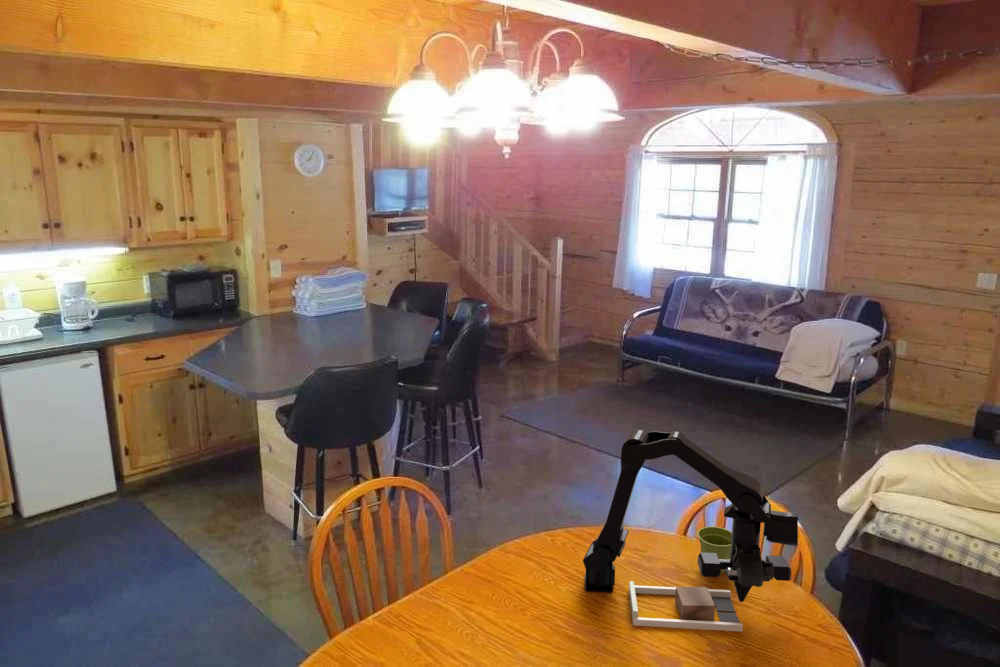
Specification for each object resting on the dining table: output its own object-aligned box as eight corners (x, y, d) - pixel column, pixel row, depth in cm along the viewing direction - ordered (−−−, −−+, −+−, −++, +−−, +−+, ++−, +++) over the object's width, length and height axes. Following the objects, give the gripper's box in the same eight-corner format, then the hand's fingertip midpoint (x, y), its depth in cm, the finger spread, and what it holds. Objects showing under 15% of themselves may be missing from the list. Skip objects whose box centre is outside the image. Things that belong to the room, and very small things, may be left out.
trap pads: (722, 627, 149) (722, 626, 149) (712, 597, 160) (712, 596, 160) (741, 628, 149) (741, 627, 149) (730, 598, 159) (730, 597, 159)
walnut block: (681, 621, 152) (682, 605, 151) (675, 602, 159) (676, 586, 158) (714, 622, 152) (715, 605, 151) (706, 602, 158) (707, 587, 158)
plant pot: (730, 558, 176) (732, 527, 174) (738, 579, 167) (741, 546, 165) (692, 556, 177) (694, 525, 175) (699, 577, 168) (701, 544, 166)
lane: (633, 625, 150) (633, 613, 150) (628, 590, 163) (629, 579, 162) (742, 631, 148) (743, 619, 147) (729, 595, 160) (730, 584, 160)
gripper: (708, 554, 143) (704, 620, 146) (802, 558, 141) (795, 626, 144) (698, 527, 154) (695, 590, 157) (786, 531, 152) (780, 594, 155)
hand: (740, 600), depth 153 cm, fingers closed
